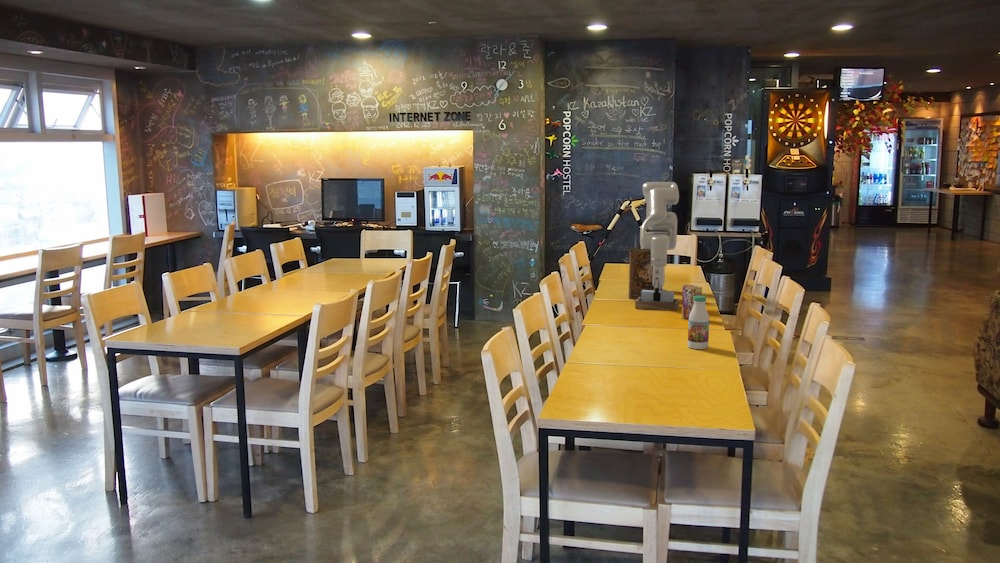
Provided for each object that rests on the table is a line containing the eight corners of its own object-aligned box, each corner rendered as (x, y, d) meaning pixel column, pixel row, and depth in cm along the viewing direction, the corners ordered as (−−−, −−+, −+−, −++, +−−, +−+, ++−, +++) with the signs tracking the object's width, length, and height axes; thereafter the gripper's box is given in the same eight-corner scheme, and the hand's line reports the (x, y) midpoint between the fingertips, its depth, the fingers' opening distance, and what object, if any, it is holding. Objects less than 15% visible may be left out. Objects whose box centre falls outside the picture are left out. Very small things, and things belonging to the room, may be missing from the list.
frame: (638, 303, 389) (638, 296, 389) (678, 305, 384) (679, 298, 383) (635, 308, 378) (635, 301, 377) (676, 311, 372) (676, 303, 371)
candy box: (701, 321, 351) (703, 287, 348) (693, 322, 349) (695, 287, 346) (688, 317, 359) (689, 283, 356) (680, 318, 357) (682, 284, 354)
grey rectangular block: (673, 300, 380) (674, 291, 380) (672, 302, 376) (673, 293, 375) (642, 298, 385) (642, 289, 384) (641, 300, 380) (641, 291, 379)
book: (628, 299, 401) (630, 250, 397) (628, 297, 406) (629, 248, 402) (661, 299, 399) (663, 250, 395) (660, 297, 405) (662, 249, 401)
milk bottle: (684, 345, 309) (686, 294, 305) (704, 344, 309) (706, 294, 306) (691, 350, 301) (693, 298, 298) (711, 349, 302) (713, 298, 298)
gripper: (664, 265, 368) (663, 303, 371) (668, 260, 384) (667, 297, 387) (648, 264, 370) (647, 302, 373) (652, 259, 386) (651, 296, 389)
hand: (657, 299), depth 380 cm, fingers closed on grey rectangular block, 5 cm apart
